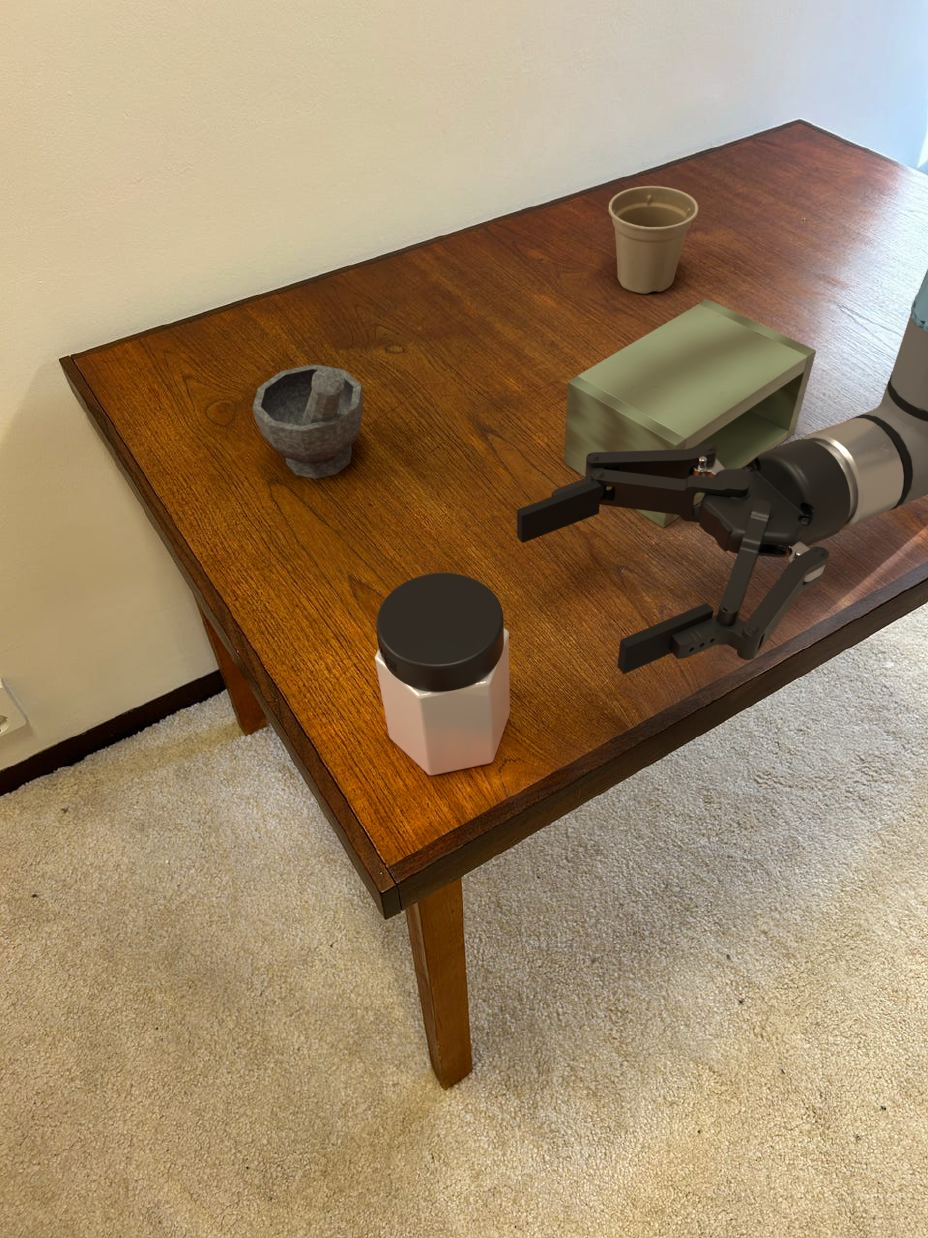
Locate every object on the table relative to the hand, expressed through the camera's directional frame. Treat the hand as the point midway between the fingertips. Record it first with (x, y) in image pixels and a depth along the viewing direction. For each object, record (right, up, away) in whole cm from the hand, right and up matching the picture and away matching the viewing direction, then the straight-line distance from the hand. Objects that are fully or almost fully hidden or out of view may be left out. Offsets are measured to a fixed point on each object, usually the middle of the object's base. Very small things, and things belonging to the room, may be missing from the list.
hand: (566, 588), depth 65 cm
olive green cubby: (+13, +14, +24) cm, 31 cm away
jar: (-8, -10, +5) cm, 14 cm away
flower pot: (+14, +36, +44) cm, 58 cm away
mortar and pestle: (-20, +13, +26) cm, 35 cm away
